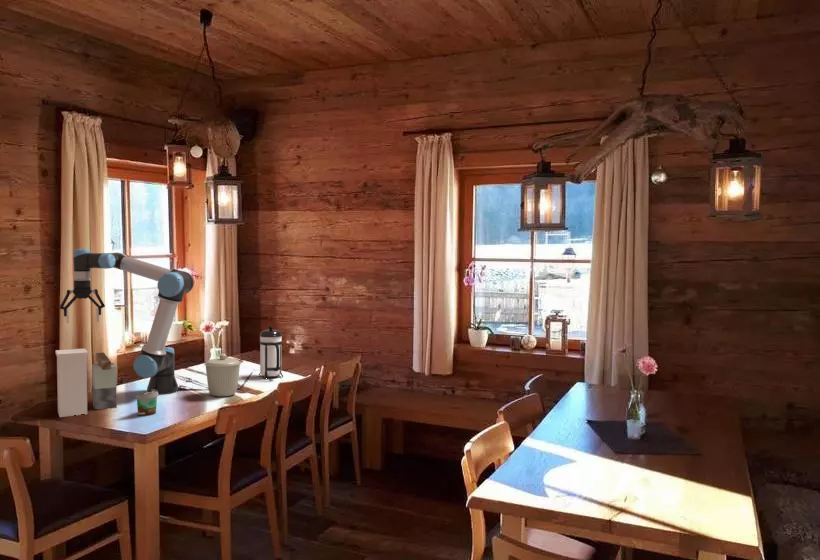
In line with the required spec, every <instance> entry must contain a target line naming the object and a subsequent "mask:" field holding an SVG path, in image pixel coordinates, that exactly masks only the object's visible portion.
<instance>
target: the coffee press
mask: <svg viewBox="0 0 820 560" xmlns="http://www.w3.org/2000/svg"><path fill="white" fill-rule="evenodd" d="M273 328H274V327H273V325H269V326H268V329H264V330H262V331H260V334H259V346H260V347H259V349H260V350H259V351H260V352H259V359H260V360H259V361H260V362H259V363H260V364H259V368H260V369H259V370H260V371H259V373H258V376H259V375H260V376H261V375H262V376H263V380H267V379H268V378H269V377H276V376H277V377H279V378H280V377H282V378H284V375H283V373H282V343H283V340H282V338H283V334H282V331H280V330H279V329H273ZM266 378H267V379H266Z"/></svg>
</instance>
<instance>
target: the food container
mask: <svg viewBox="0 0 820 560" xmlns="http://www.w3.org/2000/svg"><path fill="white" fill-rule="evenodd" d="M159 395H160V394H158V391H157V390H155V389H151V391H150V392H147V391H146V392H143V393H142V394H136V397H135V400H136V405H137V406H136V407H137V417H147V416H153V415H156V413H157V403H158V401H157V400H158V397H159Z"/></svg>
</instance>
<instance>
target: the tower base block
mask: <svg viewBox="0 0 820 560" xmlns="http://www.w3.org/2000/svg"><path fill="white" fill-rule="evenodd" d="M117 396H118V395H117V386H116V387H113V388H102V389H95V388H94V386H93V385H92V406H93V409H94V410H95V409H101V410H108V409H107V408H110V409H117V407H118V406H117V401H118V400H117Z"/></svg>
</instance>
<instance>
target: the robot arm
mask: <svg viewBox="0 0 820 560" xmlns="http://www.w3.org/2000/svg"><path fill="white" fill-rule="evenodd" d="M72 260H73V290H72V289H71V290H70V289H67V290H66V294H65V296H64V298H63V300H62V301H61V304H60V305H59V309H61V310H63V317H66V321H65V322H66V324H69V316H70V315H69V309H68V308H69V307H70V306H71V305H72V304H73V303H74V302H75V301H76V300H77V299H79V300H81V299H84V300H85V299H89V300H90V301H91V303H92V304H93V305H95V306H96V307H97V308H96V309H95V310H96V311H95V313H96V322H97V323H99V322H100V319H99V318H100V316H101V315H102V309H103V308H105V307H106V305H105V304H104V300H102V298H101V295H100V294H99V290H98V289H96V288H95V289H92V287H91V282H92V281H91V277H92V276H91V269H105V270H107V269H116V270H120V271H123V272H128V273H130V274H134V275H136V276H138V277H139V276H140V277H142V278H146V279H149V280H152V281H156V282H157V284H156V285H157V286H156V287H157V290H158V294H157V297H158V299H159V301H158V305H157V309H156V313H155V315H154V318H153V322H152V325H151V329H150V332H149V335H148V338H147V341H146V343H145V344H146V345H143V346H142V347H141V350H140V354H139V356H137V357H136V358H135V359H134V361H133V370H134V371H135V373H136V374H137V375H138V376H139V377H141V378H143V379H149V381H148V385H147V387H146V392H150V391H151V389H155V390H157V391H158V394H159V395H166V394H168V395H169V394H173V392H174V393H176V391H177V390H178V391H179V385H178V382H177V379H176V376H175V361H176V360H175V355H176V354H175V349H174V347H169V346H168V347H167V346H166V344H167V341H168V337H169V334H170V332H171V331H170V330H171V328H172V324H173V320H174V318H175V314H176V311H177V308H178V306H179V305H178V304H181V303H183V299H184V295H185V294H188V293H190V292H191V291H193V288H194V284H195V281H194V277H193V276H192V275H191V274H190V273H189V272H187V271H185V270H184V271H183V270H179V269H175V268H172V269H169V268H165V267H162V266H159V265H156V264H154V263H150V262H148V261H147V262H146V261H144V260H140V259H136V258H133V257H130V256H127V255H125V254H124V253H122V252H102V253H100V252H99V253H98V252H95V253H93V252H91V250H90V249H89V248H75V249H74V250H73V258H72ZM92 293H93V294H94V295H95V296H96V298H97V300H98V302H99V303H100V304H99V303H98V302H97V301H96V300H95V299H94V298H93V297H92V295H91V294H92ZM72 294H73V297H72V298H71V299H70V301H69V302H68V303H67V301H68V299H69V297H70V295H72ZM66 303H67V304H66ZM65 304H66V305H65ZM178 391H177V392H178Z"/></svg>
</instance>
